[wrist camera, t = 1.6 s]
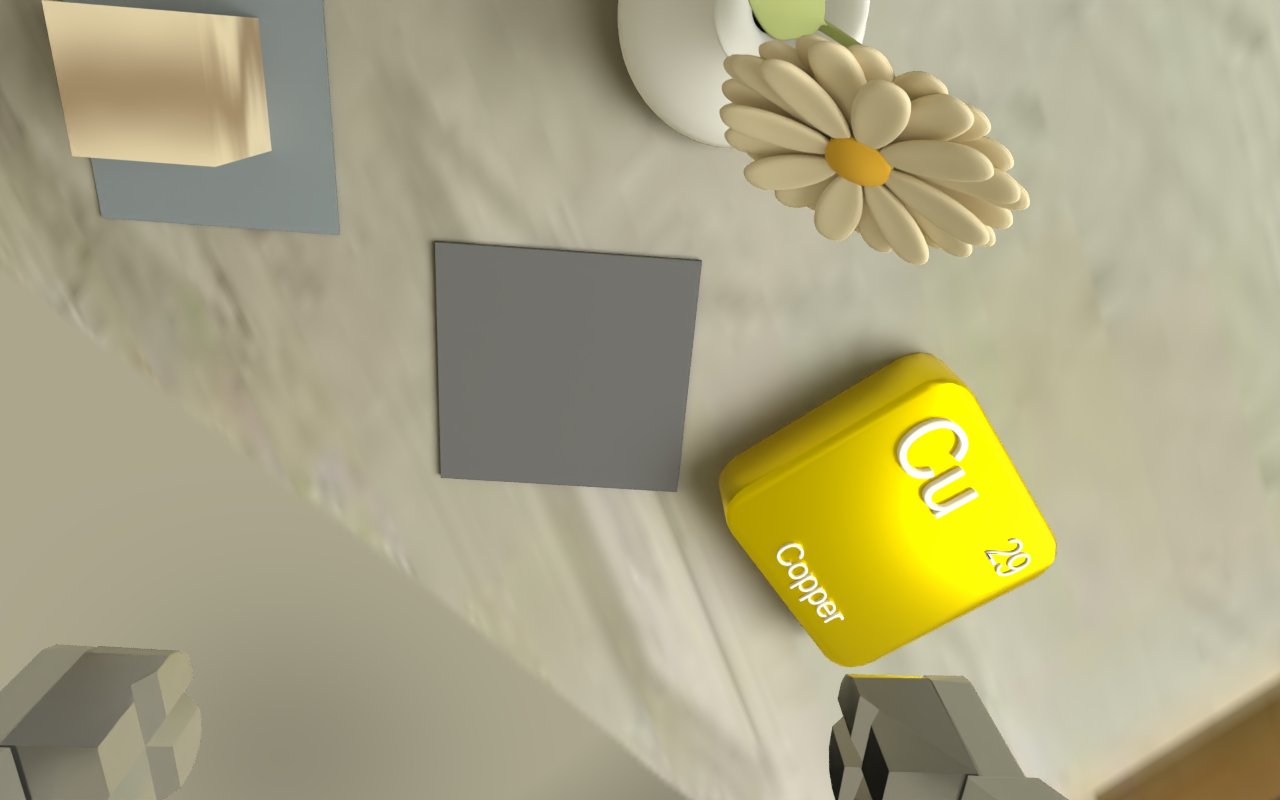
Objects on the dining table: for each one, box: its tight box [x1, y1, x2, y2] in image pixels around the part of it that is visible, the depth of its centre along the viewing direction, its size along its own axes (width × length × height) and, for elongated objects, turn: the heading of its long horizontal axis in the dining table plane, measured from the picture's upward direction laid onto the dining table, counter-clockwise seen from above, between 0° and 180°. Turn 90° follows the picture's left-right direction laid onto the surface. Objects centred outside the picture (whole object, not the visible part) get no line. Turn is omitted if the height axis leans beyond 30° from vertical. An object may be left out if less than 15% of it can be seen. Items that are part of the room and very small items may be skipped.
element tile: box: [719, 353, 1057, 667], centre depth 47 cm, size 15×15×5 cm
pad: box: [435, 241, 702, 492], centre depth 45 cm, size 14×14×1 cm
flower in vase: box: [618, 0, 1030, 265], centre depth 27 cm, size 13×11×25 cm
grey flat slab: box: [61, 0, 340, 235], centre depth 39 cm, size 14×12×1 cm
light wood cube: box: [42, 0, 272, 167], centre depth 36 cm, size 6×6×6 cm
